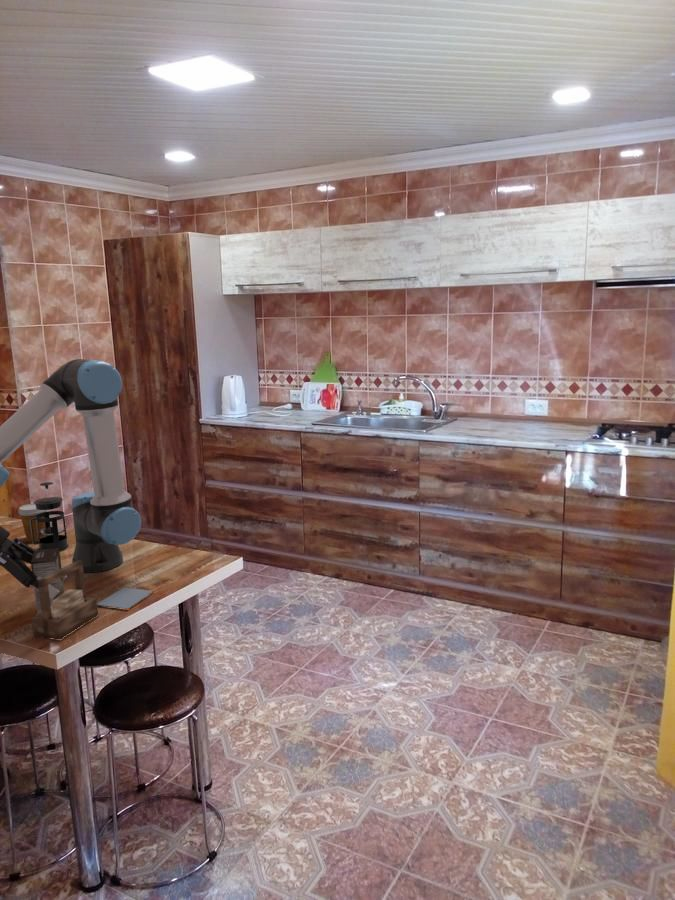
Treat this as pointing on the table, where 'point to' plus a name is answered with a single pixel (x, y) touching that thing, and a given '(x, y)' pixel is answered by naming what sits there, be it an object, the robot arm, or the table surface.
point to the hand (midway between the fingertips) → (59, 587)
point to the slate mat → (124, 598)
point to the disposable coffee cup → (31, 512)
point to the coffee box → (46, 571)
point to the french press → (49, 531)
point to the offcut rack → (63, 605)
